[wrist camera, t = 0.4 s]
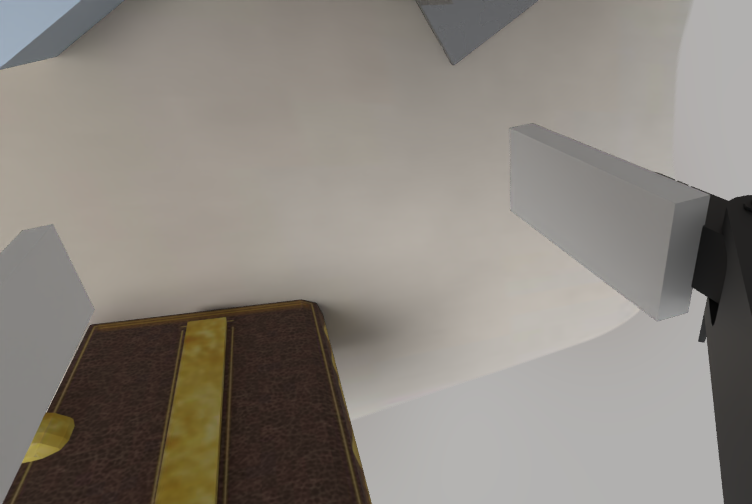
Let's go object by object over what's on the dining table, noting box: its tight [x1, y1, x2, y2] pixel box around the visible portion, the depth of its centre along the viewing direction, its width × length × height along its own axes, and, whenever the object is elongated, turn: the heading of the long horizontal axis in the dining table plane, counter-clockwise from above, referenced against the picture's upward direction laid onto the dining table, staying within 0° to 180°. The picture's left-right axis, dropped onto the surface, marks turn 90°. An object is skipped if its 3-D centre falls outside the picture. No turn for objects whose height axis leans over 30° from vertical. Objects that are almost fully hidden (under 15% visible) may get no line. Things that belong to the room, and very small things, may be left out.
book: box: [2, 300, 372, 504], centre depth 33 cm, size 22×8×25 cm, turn 90°
